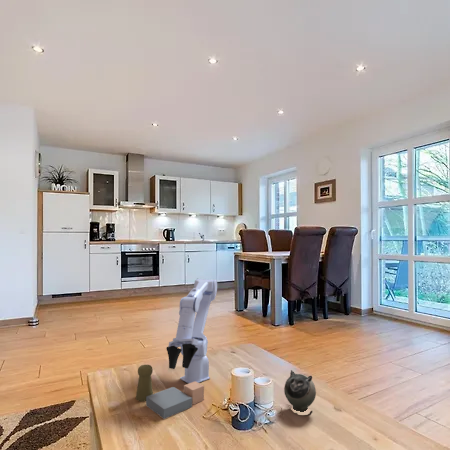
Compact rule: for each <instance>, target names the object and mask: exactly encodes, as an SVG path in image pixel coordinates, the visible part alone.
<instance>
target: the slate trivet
mask: <svg viewBox="0 0 450 450" xmlns="http://www.w3.org/2000/svg"><path fill="white" fill-rule="evenodd" d="M145 406H146V407H147V408H149V410H151V411H152V412H154V413H155V414H157V415H158V416H159V417H161V418H162V419H163V420H166V419H168V418H170V417H172V416H175V415H177V414H179V413H182V412H184V411H186V410H188V409H190V408H193V405H192V397H190V396H188V395H187V394H185V393H184V391H181V390H180V389H178V388H176V387H174V386H171V387H168V388H166V389H162V390H161V391H158V392H155V393H153V394H152V395H149V396H146V401H145Z"/></svg>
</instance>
